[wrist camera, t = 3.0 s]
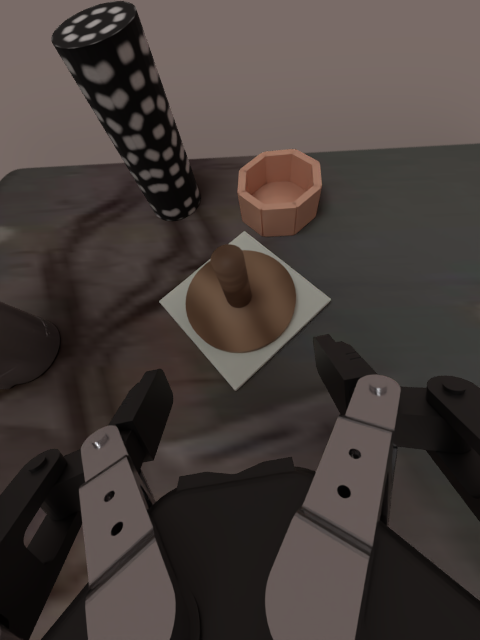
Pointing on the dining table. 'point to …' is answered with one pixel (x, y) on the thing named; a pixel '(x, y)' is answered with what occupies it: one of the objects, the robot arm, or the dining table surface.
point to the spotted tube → (130, 102)
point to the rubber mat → (247, 364)
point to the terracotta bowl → (279, 192)
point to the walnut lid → (240, 300)
